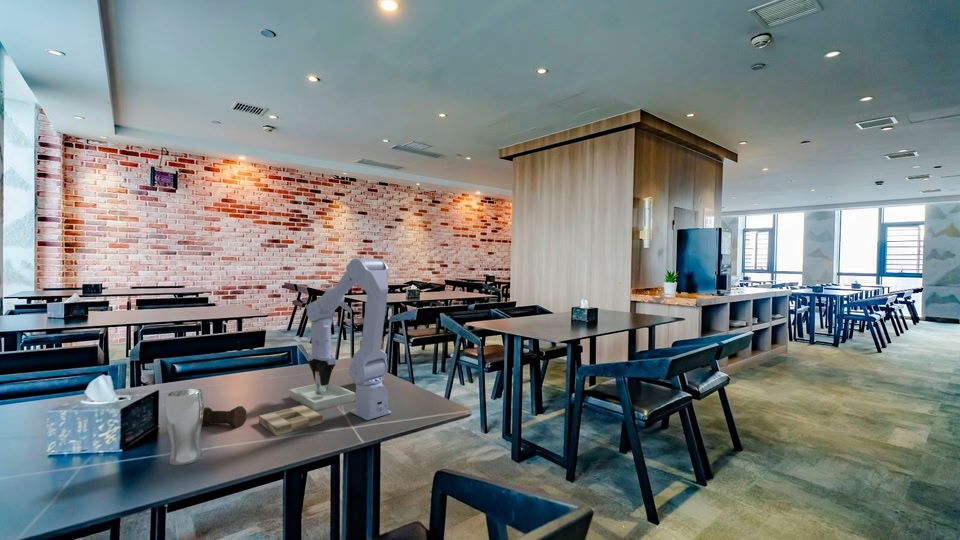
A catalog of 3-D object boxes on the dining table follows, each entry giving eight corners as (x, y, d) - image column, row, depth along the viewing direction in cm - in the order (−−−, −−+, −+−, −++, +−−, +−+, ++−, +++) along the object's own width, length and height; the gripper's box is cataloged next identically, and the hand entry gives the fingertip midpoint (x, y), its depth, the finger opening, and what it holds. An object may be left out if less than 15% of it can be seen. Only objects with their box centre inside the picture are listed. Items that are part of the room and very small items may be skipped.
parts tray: (355, 400, 137) (355, 392, 137) (314, 411, 127) (314, 402, 127) (328, 388, 149) (327, 381, 149) (289, 397, 140) (289, 389, 140)
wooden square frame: (322, 422, 119) (322, 415, 119) (276, 435, 110) (276, 427, 110) (303, 411, 127) (303, 404, 127) (259, 422, 118) (259, 415, 118)
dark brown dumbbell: (191, 429, 119) (243, 430, 117) (178, 426, 115) (231, 427, 113) (199, 407, 122) (249, 408, 120) (186, 403, 117) (238, 404, 115)
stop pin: (329, 392, 138) (329, 370, 138) (318, 395, 136) (318, 372, 135) (324, 390, 141) (323, 368, 140) (313, 393, 138) (313, 370, 138)
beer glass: (163, 459, 97) (162, 391, 97) (200, 449, 102) (199, 385, 102) (170, 470, 92) (168, 399, 92) (208, 459, 97) (207, 391, 97)
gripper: (298, 339, 140) (299, 381, 140) (319, 345, 130) (320, 391, 130) (319, 336, 145) (320, 377, 145) (341, 342, 135) (342, 386, 135)
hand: (321, 383), depth 138 cm, fingers closed on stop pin, 4 cm apart
